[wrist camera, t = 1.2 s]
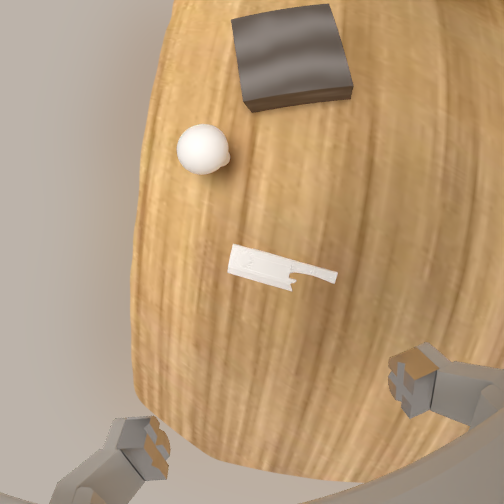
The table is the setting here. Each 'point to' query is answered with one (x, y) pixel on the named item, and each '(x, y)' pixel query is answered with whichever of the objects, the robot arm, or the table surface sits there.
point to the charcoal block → (290, 58)
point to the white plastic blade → (272, 267)
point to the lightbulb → (203, 149)
